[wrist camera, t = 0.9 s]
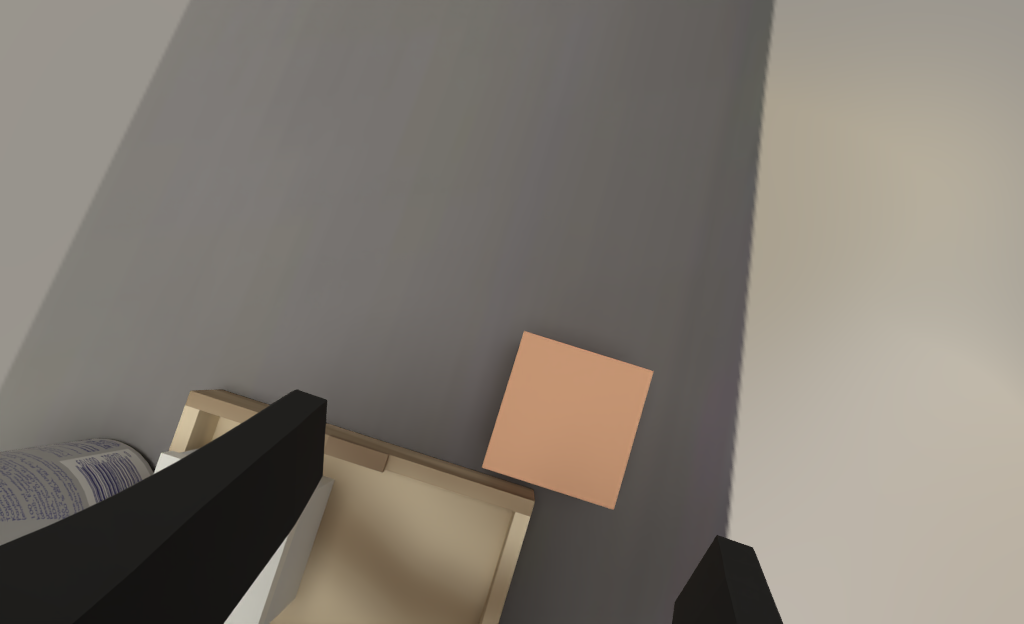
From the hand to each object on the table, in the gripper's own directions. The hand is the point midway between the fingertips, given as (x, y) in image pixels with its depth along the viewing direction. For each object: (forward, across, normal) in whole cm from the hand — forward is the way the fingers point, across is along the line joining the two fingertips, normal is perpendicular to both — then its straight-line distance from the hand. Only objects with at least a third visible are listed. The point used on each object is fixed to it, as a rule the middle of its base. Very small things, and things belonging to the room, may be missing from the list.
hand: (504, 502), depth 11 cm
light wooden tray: (+8, +6, +15) cm, 18 cm away
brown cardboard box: (+13, -1, +9) cm, 16 cm away
